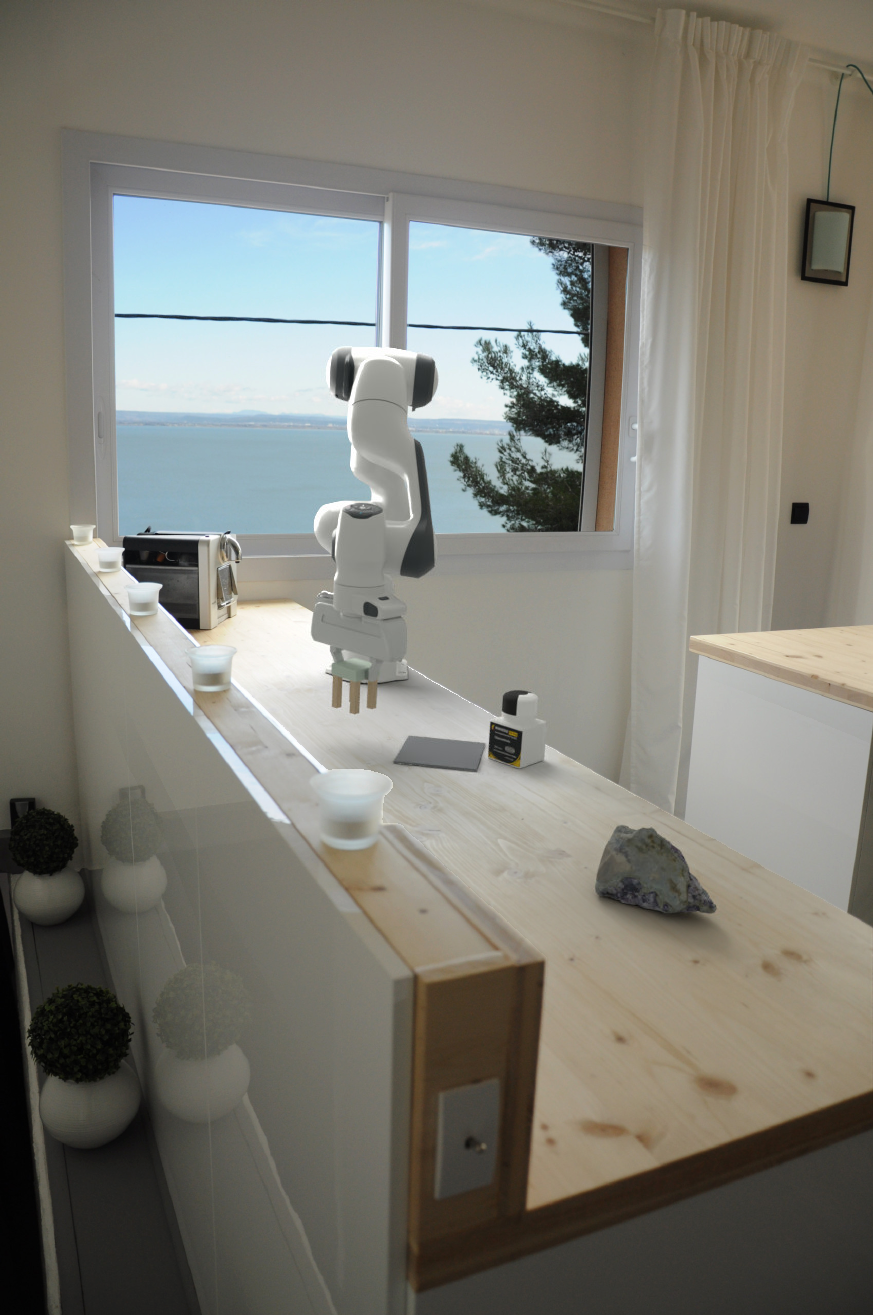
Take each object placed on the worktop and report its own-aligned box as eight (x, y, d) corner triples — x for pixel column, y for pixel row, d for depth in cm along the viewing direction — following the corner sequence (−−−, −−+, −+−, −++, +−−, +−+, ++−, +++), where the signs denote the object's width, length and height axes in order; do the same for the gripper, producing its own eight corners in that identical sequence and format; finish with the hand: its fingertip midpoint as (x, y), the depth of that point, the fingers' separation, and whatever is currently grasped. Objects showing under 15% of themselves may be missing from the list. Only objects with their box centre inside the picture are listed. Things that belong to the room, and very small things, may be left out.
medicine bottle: (486, 758, 164) (491, 691, 161) (512, 749, 169) (517, 685, 166) (519, 769, 159) (524, 701, 156) (544, 760, 164) (550, 694, 162)
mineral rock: (719, 927, 111) (730, 848, 109) (642, 941, 107) (651, 860, 105) (655, 878, 123) (663, 805, 120) (583, 889, 119) (590, 815, 116)
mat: (408, 737, 173) (408, 735, 173) (485, 745, 171) (485, 742, 171) (393, 763, 159) (393, 760, 159) (476, 771, 157) (476, 769, 157)
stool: (330, 706, 169) (331, 663, 167) (353, 700, 173) (355, 657, 171) (354, 715, 165) (356, 671, 163) (377, 708, 170) (379, 665, 168)
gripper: (303, 590, 168) (302, 665, 172) (389, 611, 156) (385, 692, 159) (329, 587, 173) (327, 660, 176) (414, 607, 161) (410, 685, 164)
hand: (355, 675), depth 168 cm, fingers closed on stool, 6 cm apart
